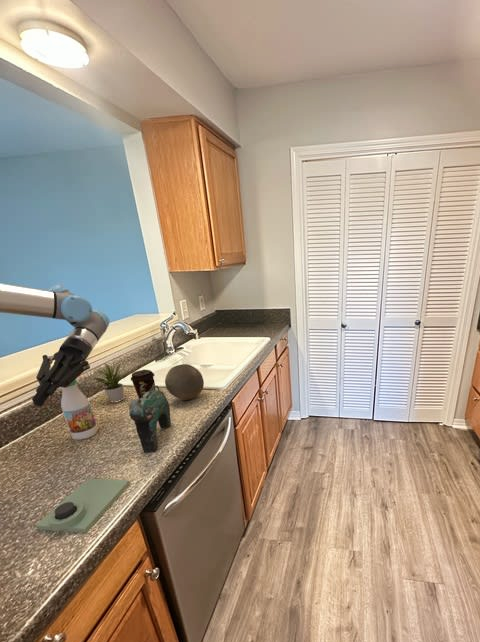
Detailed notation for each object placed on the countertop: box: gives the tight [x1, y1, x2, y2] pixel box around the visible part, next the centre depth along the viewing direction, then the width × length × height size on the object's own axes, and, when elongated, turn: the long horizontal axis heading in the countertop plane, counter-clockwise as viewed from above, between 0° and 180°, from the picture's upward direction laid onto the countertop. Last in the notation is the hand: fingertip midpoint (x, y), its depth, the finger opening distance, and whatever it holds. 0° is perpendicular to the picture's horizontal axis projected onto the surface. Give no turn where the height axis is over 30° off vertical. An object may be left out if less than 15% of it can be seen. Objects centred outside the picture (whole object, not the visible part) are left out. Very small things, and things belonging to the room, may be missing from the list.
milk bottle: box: [59, 378, 99, 441], centre depth 106 cm, size 8×8×20 cm
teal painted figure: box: [128, 384, 172, 454], centre depth 102 cm, size 20×6×20 cm, turn 3°
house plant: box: [87, 360, 126, 402], centre depth 134 cm, size 14×14×16 cm
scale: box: [35, 478, 131, 534], centre depth 77 cm, size 17×12×3 cm
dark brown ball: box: [164, 363, 205, 401], centre depth 130 cm, size 14×14×15 cm
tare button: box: [54, 502, 76, 520], centre depth 72 cm, size 4×4×2 cm
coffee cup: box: [130, 369, 157, 399], centre depth 130 cm, size 9×8×13 cm
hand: (36, 402), depth 87 cm, fingers closed
